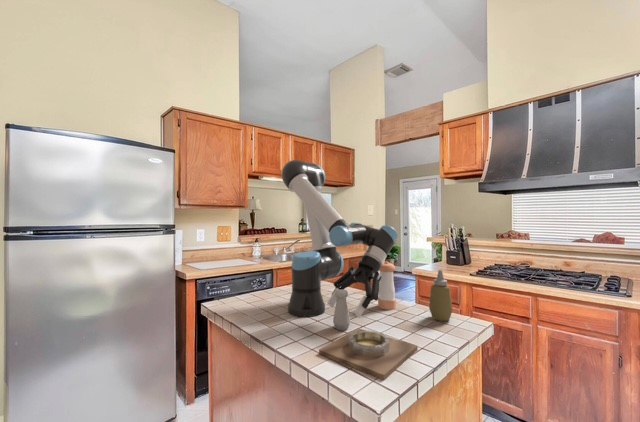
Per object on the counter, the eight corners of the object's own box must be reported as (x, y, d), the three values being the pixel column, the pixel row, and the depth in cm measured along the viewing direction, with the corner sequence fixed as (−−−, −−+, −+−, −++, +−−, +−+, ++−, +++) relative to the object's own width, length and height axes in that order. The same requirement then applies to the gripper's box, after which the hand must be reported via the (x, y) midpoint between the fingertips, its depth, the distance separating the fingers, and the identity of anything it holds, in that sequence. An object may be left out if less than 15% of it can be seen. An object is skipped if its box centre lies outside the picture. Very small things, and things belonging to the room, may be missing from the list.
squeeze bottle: (442, 324, 102) (441, 273, 102) (424, 317, 109) (424, 269, 109) (457, 320, 106) (457, 271, 106) (439, 313, 113) (438, 267, 113)
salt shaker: (349, 332, 95) (348, 292, 95) (332, 331, 96) (331, 291, 97) (350, 325, 101) (350, 288, 101) (334, 324, 102) (334, 287, 102)
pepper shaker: (374, 306, 122) (374, 261, 122) (384, 303, 127) (384, 259, 127) (389, 311, 116) (388, 263, 117) (399, 307, 121) (398, 261, 122)
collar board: (319, 354, 80) (318, 340, 80) (358, 331, 95) (358, 320, 96) (384, 380, 67) (384, 364, 67) (417, 349, 83) (417, 336, 83)
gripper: (404, 272, 99) (375, 326, 89) (353, 263, 119) (325, 307, 109) (394, 258, 96) (363, 313, 86) (344, 251, 116) (314, 295, 106)
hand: (342, 310), depth 98 cm, fingers open, 13 cm apart
